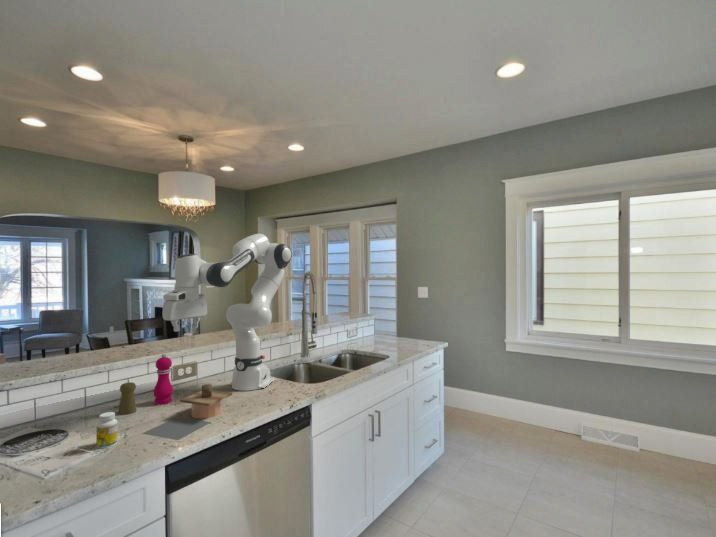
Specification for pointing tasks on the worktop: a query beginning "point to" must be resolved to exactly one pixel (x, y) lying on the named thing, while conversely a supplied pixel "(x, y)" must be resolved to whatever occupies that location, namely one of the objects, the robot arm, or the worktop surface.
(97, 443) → the supplement bottle
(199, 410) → the bowl
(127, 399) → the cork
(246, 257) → the robot arm
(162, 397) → the pepper mill
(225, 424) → the worktop surface
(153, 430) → the mat
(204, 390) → the lid
